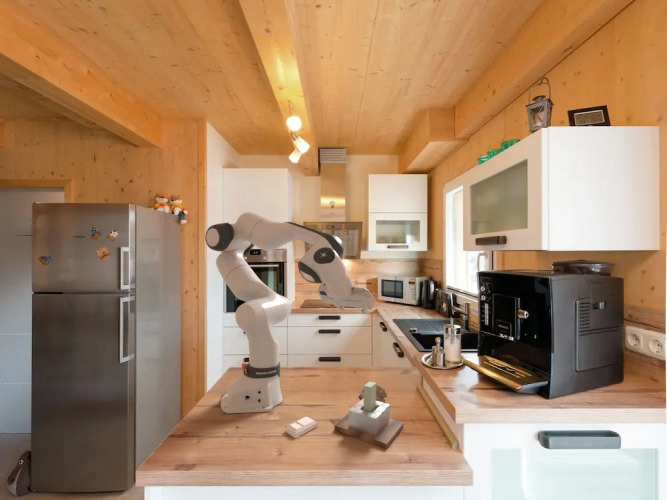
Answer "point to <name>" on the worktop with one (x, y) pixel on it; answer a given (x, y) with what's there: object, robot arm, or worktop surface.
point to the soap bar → (300, 427)
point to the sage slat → (370, 397)
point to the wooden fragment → (377, 394)
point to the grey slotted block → (369, 418)
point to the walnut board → (381, 439)
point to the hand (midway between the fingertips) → (353, 310)
